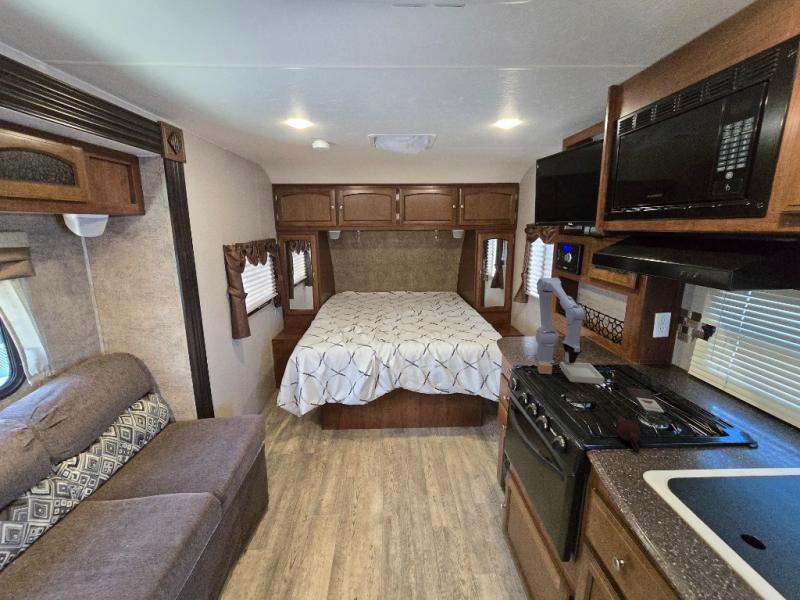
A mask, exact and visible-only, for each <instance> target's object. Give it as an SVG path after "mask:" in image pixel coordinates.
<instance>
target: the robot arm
mask: <svg viewBox="0 0 800 600" xmlns="http://www.w3.org/2000/svg"><path fill="white" fill-rule="evenodd" d="M536 289H537V295H538V296H539V297H538V298H539V299H538V300H539V310H540V313H539V314H540V326H539V327H538V328H537V329H536V333H535V334H536V335H535V341H536V343H537V347H536V354H534V357H535V359H536V360H537V363H538V362H550V363H551V364H555V361H554V359H553V357H554V348H555V347H554V346H556V344H558V342H559V339H560V338H559V337H560V336H559V334H558V332H557V331H558V330H557V329H556V327H553V320H552V319H553V318H552V310H551V308H552V307H551V296H552V295H553V294H554V295H555V296H556V297H557V298H558V299H559V304H560V306H561V307H562V309H563V310H564V312H565V317H566V323H567V325H566V333H565V336H564V340H562V342H561V344H562V348H563V349H564V354H565V353H566V351H568V354H569V363H575V362H576V360H577V358H578V356H579V355H580V354H581V353H582V350H581V347H580V344H581V343H580V340H581V333H582V332H581V331H582V326H583V325H582V324H583V321H584V320H585V319H586V316H587V313H586V312H587V311H586V309H585V308H584V307H582V306H580V305H578V304H577V303H576V301H575V300H574V298H573V297H572V296H570V295H567V294H566V292H565V290H564V289H563V287H562V281H561V280H560V278H559V277H540V278H538V280H537V282H536Z"/></svg>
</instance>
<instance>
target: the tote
mask: <svg viewBox="0 0 800 600" xmlns="http://www.w3.org/2000/svg"><path fill="white" fill-rule="evenodd" d="M559 366H560V367H559V368H561V369H560V370H561V371H562V373H563V374H564V375H565V377H566V378H567V379H568V381H569V382H570V383H583V384H596V385H597V384H598V385H604V382H605V377H604V376H603V375H602V374H601V372H599V371H598V370H597V369H596V368H595V367H594V366H593V365H592V364H591V363H590V362H576V361H575V365H567V364H565V363H564V361H560V362H559Z"/></svg>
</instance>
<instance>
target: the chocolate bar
mask: <svg viewBox="0 0 800 600" xmlns="http://www.w3.org/2000/svg"><path fill="white" fill-rule="evenodd" d="M624 388H625V390H626V391H627V392H628V394H629V396H630V398H631V399H632V400H633V401H634V403H635V404H636V405H637V407H638V408H639V409H640V410H641V411H646V412H647V411H648V412H653V413H661V414H666V415H667V414H669V411H668V410H667V409H666V407H664V406H663V404H662V402H661V401H659V399H658V398H657V397H656V396H655V395H654V393H653V392H652V391H651V390H650V389H644V388H636V387H629V386H625V387H624Z"/></svg>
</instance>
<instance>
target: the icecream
mask: <svg viewBox="0 0 800 600" xmlns="http://www.w3.org/2000/svg"><path fill="white" fill-rule="evenodd" d="M613 428H614V432H616V434H617V435H618V436H619V437H620V438H621V439H622V440H624V441H626V442H629V443H631V447H632V448H633V450H634V451H635V452H639V451H640V445H639V444H638V442H639V439H640V436H641V430H640V425H639V424H638V423H636V422H635V421H633V420H628V419H626V417H624V416H622V415H618V422H617V424H615V426H614V427H613Z"/></svg>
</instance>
